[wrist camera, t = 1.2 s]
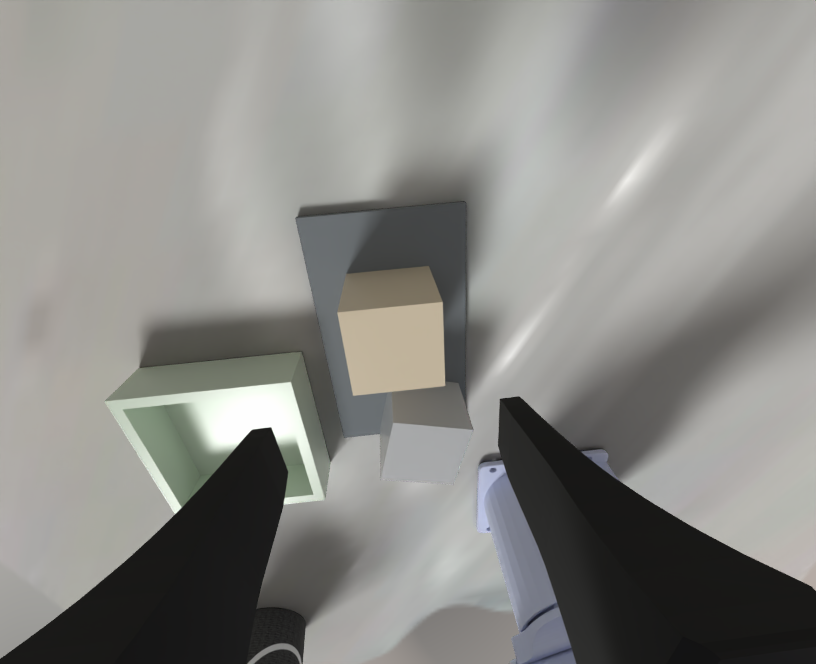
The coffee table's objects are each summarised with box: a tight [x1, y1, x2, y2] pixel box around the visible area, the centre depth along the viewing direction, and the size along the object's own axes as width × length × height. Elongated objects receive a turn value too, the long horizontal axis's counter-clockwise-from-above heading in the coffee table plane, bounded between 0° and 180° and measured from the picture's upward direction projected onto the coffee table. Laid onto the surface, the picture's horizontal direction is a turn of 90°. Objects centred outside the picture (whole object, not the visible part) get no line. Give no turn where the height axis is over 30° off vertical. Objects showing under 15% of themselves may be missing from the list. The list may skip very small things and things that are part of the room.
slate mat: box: [295, 201, 466, 438], centre depth 20 cm, size 8×14×1 cm, turn 4°
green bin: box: [104, 352, 330, 514], centre depth 21 cm, size 9×9×3 cm
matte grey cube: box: [380, 382, 473, 485], centre depth 21 cm, size 4×4×4 cm
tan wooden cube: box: [337, 266, 445, 396], centre depth 17 cm, size 4×4×4 cm
